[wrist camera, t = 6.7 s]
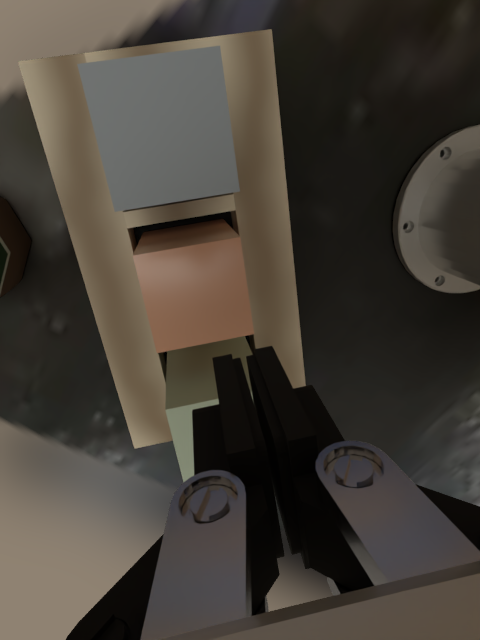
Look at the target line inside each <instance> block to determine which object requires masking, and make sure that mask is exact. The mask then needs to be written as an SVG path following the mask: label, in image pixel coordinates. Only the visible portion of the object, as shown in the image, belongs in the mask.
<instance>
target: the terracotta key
mask: <svg viewBox="0 0 480 640" xmlns="http://www.w3.org/2000/svg"><path fill="white" fill-rule="evenodd" d="M133 259H134V263H135V267H136V271H137V275H138V279H139V283H140V287H141V291H142V295H143V299H144V303H145V308H146V312H147V316H148V320H149V324H150V328H151V332H152V336H153V340H154V344H155V348H156V352H157V353H161V352H166V351H171V350H176V349H181V348H186V347H191V346H196V345H201V344H206V343H212V342H217V341H222V340H227V339H232V338H237V337H242V336H247V335H252V334H254V329H253V322H252V315H251V308H250V301H249V294H248V287H247V280H246V273H245V266H244V259H243V252H242V245H241V238H240V236H239V235H238V234H237V233H236V232H235V231H234V230H233V229H232V228H231V227H230V226H229V225H228V224H227V223H226V221H225V220H224V219H218V220H212V221H206V222H200V223H194V224H189V225H183V226H177V227H171V228H165V229H159V230H153V231H147V232H143V234H142V236H141V239H140V241H139V243H138V245H137V247H136V249H135V252H134V254H133Z"/></svg>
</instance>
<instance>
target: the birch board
mask: <svg viewBox="0 0 480 640" xmlns="http://www.w3.org/2000/svg"><path fill="white" fill-rule="evenodd" d="M213 46H220V50H221V57H222V64H223V71H224V79H225V86H226V93H227V101H228V108H229V115H230V122H231V130H232V137H233V144H234V151H235V159H236V166H237V173H238V181H239V188H240V192H234V193H228V194H221V195H215V196H209V197H203V198H197V199H191V200H185V201H179V202H173V203H166V204H160V205H154V206H148V207H142V208H136V209H130V210H124V211H117V212H115V211H114V207H113V203H112V199H111V195H110V191H109V187H108V183H107V179H106V175H105V171H104V167H103V164H102V160H101V156H100V152H99V148H98V144H97V140H96V136H95V132H94V128H93V124H92V120H91V116H90V112H89V109H88V105H87V101H86V97H85V93H84V89H83V85H82V81H81V77H80V73H79V69H78V65H77V64H81V63H89V62H97V61H105V60H112V59H120V58H128V57H136V56H143V55H151V54H159V53H167V52H174V51H182V50H190V49H198V48H205V47H213ZM18 64H19V67H20V71H21V74H22V77H23V81H24V84H25V87H26V91H27V94H28V97H29V100H30V104H31V107H32V110H33V114H34V117H35V120H36V124H37V127H38V130H39V134H40V137H41V140H42V144H43V147H44V150H45V153H46V157H47V160H48V163H49V167H50V170H51V173H52V177H53V180H54V183H55V187H56V190H57V193H58V197H59V200H60V203H61V206H62V210H63V213H64V216H65V220H66V223H67V226H68V230H69V233H70V236H71V240H72V243H73V246H74V249H75V253H76V256H77V259H78V263H79V266H80V269H81V273H82V276H83V279H84V283H85V286H86V289H87V293H88V296H89V299H90V302H91V306H92V309H93V312H94V316H95V319H96V322H97V326H98V329H99V332H100V336H101V339H102V342H103V345H104V349H105V352H106V355H107V359H108V362H109V365H110V369H111V372H112V375H113V379H114V382H115V385H116V389H117V392H118V395H119V398H120V402H121V405H122V408H123V412H124V415H125V418H126V422H127V425H128V428H129V432H130V435H131V438H132V442H133V445H134V448H140V447H144V446H149V445H154V444H158V443H163V442H167V441H172V440H173V438H172V434H171V431H170V427H169V423H168V419H167V415H166V411H165V402H166V372H167V366H166V362H165V358H164V354H163V352H161V353H157V352H156V348H155V344H154V340H153V336H152V332H151V328H150V324H149V320H148V316H147V312H146V308H145V303H144V299H143V295H142V291H141V287H140V283H139V279H138V275H137V271H136V267H135V263H134V259H133V254H134V252H135V249H136V247H137V242H136V238H135V233H134V229H133V227H139V226H145V225H150V224H156V223H162V222H168V221H174V220H180V219H186V218H192V217H198V216H204V215H210V214H216V213H222V212H228V211H231V218H232V224H233V230H234V231H235V232H236V233H237V234H238V235H239V236H240V238H241V245H242V252H243V259H244V266H245V273H246V280H247V287H248V294H249V301H250V308H251V315H252V322H253V329H254V334H252V335H249V339H250V346H251V352H252V354H253V349H258V348H263V347H268V346H273V348H274V350H275V352H276V354H277V356H278V358H279V360H280V362H281V365H282V367H283V369H284V371H285V373H286V375H287V377H288V379H289V381H290V383H291V385H292V387H293V389H294V388H298V387H303V386H306V385H305V374H304V364H303V353H302V343H301V332H300V322H299V311H298V301H297V290H296V280H295V269H294V259H293V248H292V238H291V227H290V217H289V206H288V195H287V185H286V174H285V164H284V153H283V143H282V132H281V122H280V111H279V101H278V90H277V80H276V69H275V59H274V48H273V38H272V29H270V30H262V31H254V32H246V33H238V34H230V35H222V36H215V37H207V38H199V39H191V40H183V41H175V42H167V43H159V44H151V45H144V46H136V47H128V48H120V49H112V50H104V51H96V52H88V53H80V54H73V55H65V56H57V57H49V58H41V59H34V60H25V61H18Z"/></svg>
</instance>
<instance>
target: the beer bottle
mask: <svg viewBox="0 0 480 640" xmlns="http://www.w3.org/2000/svg"><path fill="white" fill-rule="evenodd" d="M30 245H31V239H30V237H29V236H28V234H27V233H26V231H25V229H24V228H23V226H22V225H21V223H20V221H19V220H18V218H17V216H16V215H15V213H14V212H13V210H12V208H11V207H10V205H9V204H8V202H7V200H6V199H3V198H0V297H2V296H3V295H4V294H6V293H7V292H8V291H10V290H11V289H12V288H14V287H15V286H16V285H17V284H18V283H19V282H20V281H21V280H22V276H23V272H24V268H25V264H26V260H27V256H28V252H29V249H30Z"/></svg>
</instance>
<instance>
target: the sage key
mask: <svg viewBox="0 0 480 640" xmlns="http://www.w3.org/2000/svg"><path fill="white" fill-rule="evenodd" d="M228 354H232V358H233V359H235V358H241V362H242V365H243V369H244V372H245V375H246V379H247V382H248V385H249V389H250V392H251V396H252V399H253V395H252V390H251V384H250V378H249V372H248V366H247V360H246V356H249V355H253V354H252V352H251V349H250V347H249V345H248V342H247V340H246V338H245V336H242V337H237V338H232V339H227V340H222V341H217V342H212V343H206V344H201V345H196V346H191V347H186V348H181V349H176V350H171V351H167V372H166V402H165V411H166V415H167V419H168V423H169V427H170V431H171V434H172V438H173V442H174V446H175V450H176V454H177V458H178V462H179V466H180V470H181V474H182V478H183V482H185V481H186V480H187V479H189V478H190V477H192V476H194V453H193V425H192V410H193V409H198V408H203V407H207V406H212V405H217V404H219V400H218V393H217V387H216V380H215V373H214V366H213V360H212V358H213V357H218V356H223V355H228ZM253 402H254V401H253Z"/></svg>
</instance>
